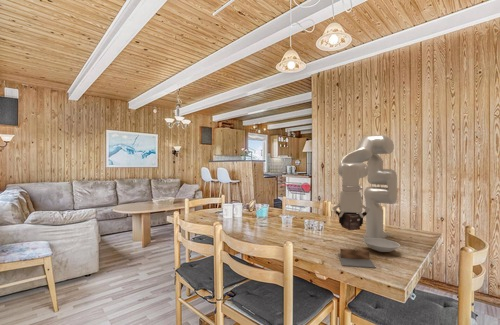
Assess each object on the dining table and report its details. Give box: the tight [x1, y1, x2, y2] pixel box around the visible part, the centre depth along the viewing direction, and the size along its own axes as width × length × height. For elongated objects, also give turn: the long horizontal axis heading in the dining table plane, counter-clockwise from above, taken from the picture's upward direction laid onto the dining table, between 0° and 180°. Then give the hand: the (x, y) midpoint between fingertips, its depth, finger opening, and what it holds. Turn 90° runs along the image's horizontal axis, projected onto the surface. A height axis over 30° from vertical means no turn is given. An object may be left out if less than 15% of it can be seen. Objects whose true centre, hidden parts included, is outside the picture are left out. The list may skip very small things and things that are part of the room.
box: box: [341, 213, 361, 231], centre depth 122 cm, size 6×6×7 cm
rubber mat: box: [337, 253, 377, 269], centre depth 120 cm, size 14×14×1 cm
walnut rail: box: [339, 248, 370, 260], centre depth 122 cm, size 13×2×4 cm, turn 79°
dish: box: [362, 238, 401, 253], centre depth 132 cm, size 18×14×5 cm
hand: (350, 225), depth 122 cm, fingers closed on box, 8 cm apart
